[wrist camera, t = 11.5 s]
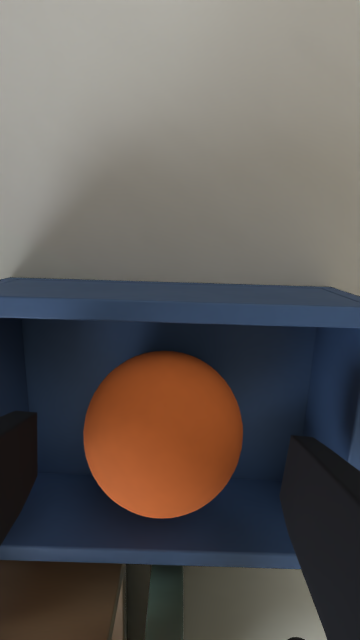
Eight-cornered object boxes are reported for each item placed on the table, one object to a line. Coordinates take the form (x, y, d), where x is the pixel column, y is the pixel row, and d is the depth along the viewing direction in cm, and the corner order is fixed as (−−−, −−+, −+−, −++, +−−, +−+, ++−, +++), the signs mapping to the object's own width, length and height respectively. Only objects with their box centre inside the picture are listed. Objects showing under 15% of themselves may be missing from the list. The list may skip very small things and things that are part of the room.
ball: (77, 383, 13) (17, 468, 8) (177, 306, 12) (174, 349, 8) (158, 471, 14) (145, 592, 9) (256, 403, 13) (297, 497, 9)
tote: (26, 476, 15) (-29, 560, 11) (9, 277, 13) (-67, 294, 9) (305, 484, 15) (348, 571, 11) (331, 286, 13) (396, 307, 9)
